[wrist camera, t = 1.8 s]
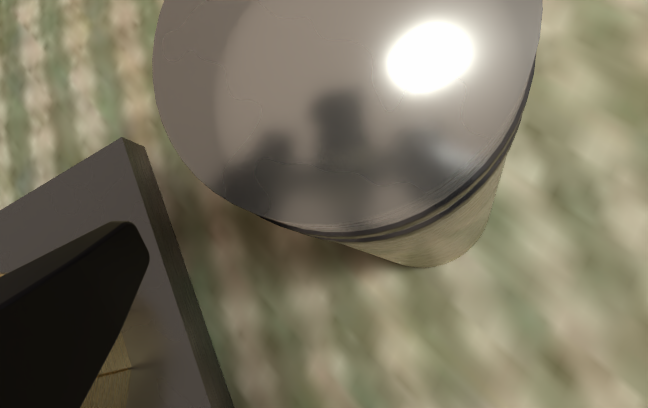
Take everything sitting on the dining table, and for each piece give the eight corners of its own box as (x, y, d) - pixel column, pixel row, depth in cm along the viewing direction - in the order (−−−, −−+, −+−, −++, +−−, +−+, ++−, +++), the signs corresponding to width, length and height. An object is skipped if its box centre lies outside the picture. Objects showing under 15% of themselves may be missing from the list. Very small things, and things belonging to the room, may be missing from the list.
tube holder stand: (270, 514, 17) (215, 577, 14) (-11, 623, 20) (-124, 701, 16) (144, 146, 22) (76, 117, 18) (-73, 275, 24) (-173, 273, 21)
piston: (520, 231, 16) (647, 88, 5) (388, 292, 17) (222, 299, 6) (451, 111, 18) (417, -230, 6) (333, 173, 19) (108, -17, 7)
